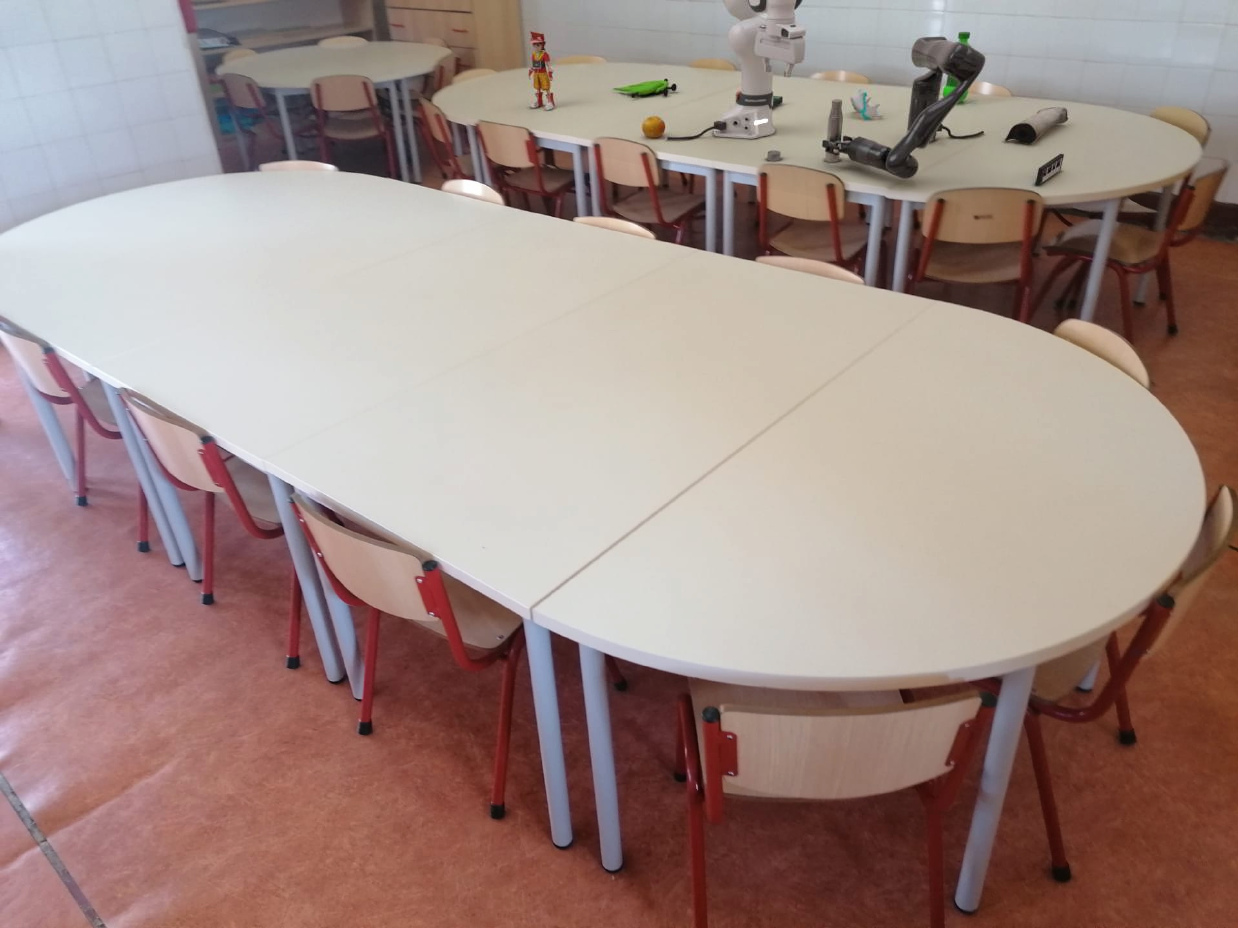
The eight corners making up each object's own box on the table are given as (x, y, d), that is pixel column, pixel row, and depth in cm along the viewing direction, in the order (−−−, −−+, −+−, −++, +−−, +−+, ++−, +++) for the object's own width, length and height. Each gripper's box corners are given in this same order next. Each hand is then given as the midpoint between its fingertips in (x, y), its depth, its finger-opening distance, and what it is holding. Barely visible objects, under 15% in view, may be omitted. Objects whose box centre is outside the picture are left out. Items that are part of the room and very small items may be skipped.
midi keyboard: (1039, 185, 269) (1043, 168, 266) (1035, 184, 270) (1038, 168, 267) (1060, 170, 279) (1064, 154, 277) (1056, 169, 280) (1060, 153, 277)
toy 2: (686, 85, 398) (631, 84, 414) (685, 72, 395) (629, 72, 411) (651, 104, 381) (596, 103, 397) (650, 92, 378) (594, 91, 394)
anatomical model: (845, 88, 346) (871, 81, 345) (848, 116, 352) (873, 109, 351) (857, 98, 334) (883, 90, 333) (859, 126, 340) (885, 119, 339)
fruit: (635, 129, 332) (646, 109, 329) (642, 132, 340) (653, 113, 337) (653, 141, 331) (664, 122, 328) (660, 144, 339) (671, 125, 336)
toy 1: (525, 109, 381) (517, 32, 364) (534, 104, 388) (527, 28, 371) (550, 110, 377) (543, 32, 360) (559, 105, 384) (553, 28, 367)
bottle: (831, 157, 304) (836, 98, 293) (842, 160, 300) (847, 100, 290) (822, 160, 301) (826, 100, 291) (832, 163, 298) (837, 103, 287)
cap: (770, 161, 303) (770, 154, 302) (765, 158, 307) (765, 151, 305) (782, 160, 304) (782, 153, 303) (776, 156, 308) (777, 149, 306)
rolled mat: (1035, 112, 325) (1059, 94, 316) (1049, 133, 325) (1073, 116, 317) (1000, 135, 307) (1025, 117, 299) (1015, 157, 308) (1040, 140, 300)
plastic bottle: (973, 101, 354) (984, 32, 339) (955, 106, 349) (966, 36, 335) (952, 97, 361) (962, 29, 346) (934, 102, 356) (944, 33, 342)
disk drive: (768, 112, 357) (782, 103, 367) (768, 105, 355) (783, 96, 365) (744, 110, 362) (759, 101, 372) (744, 103, 360) (759, 94, 370)
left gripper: (751, 25, 288) (749, 71, 296) (794, 33, 274) (791, 81, 282) (766, 22, 291) (763, 68, 299) (809, 30, 276) (806, 78, 284)
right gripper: (884, 136, 286) (851, 125, 298) (849, 144, 281) (816, 133, 293) (882, 159, 290) (849, 148, 302) (847, 168, 285) (815, 156, 297)
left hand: (777, 74), depth 290 cm, fingers open, 8 cm apart
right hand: (833, 141), depth 298 cm, fingers open, 8 cm apart
